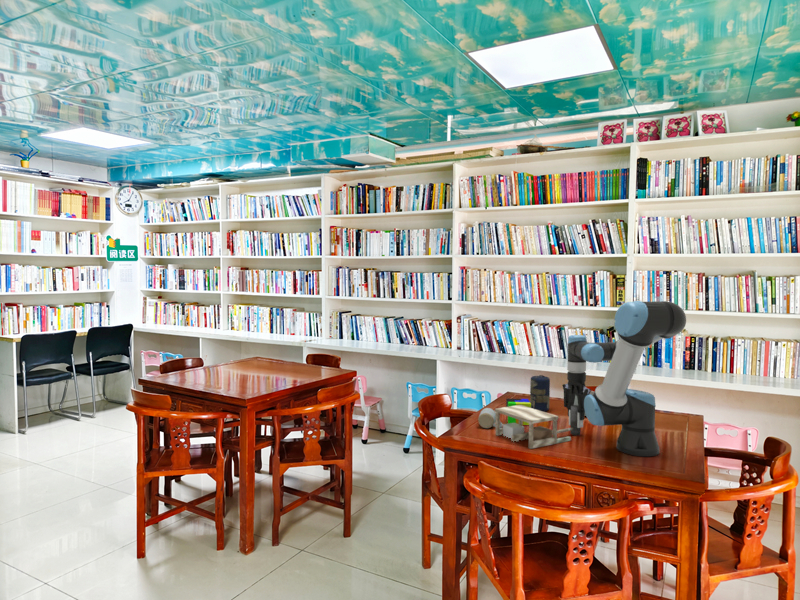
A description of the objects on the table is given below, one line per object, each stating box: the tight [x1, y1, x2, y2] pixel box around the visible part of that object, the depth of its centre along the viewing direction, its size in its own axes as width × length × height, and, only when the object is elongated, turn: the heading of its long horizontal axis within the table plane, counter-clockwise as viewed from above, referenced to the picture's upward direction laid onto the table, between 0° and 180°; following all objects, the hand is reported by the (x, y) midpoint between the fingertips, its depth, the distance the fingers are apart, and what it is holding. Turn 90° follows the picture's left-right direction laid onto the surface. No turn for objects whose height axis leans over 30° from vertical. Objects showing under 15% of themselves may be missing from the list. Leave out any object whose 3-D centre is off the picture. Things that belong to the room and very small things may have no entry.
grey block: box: [502, 423, 525, 440], centre depth 223 cm, size 6×6×5 cm
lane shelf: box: [494, 405, 572, 450], centre depth 221 cm, size 22×22×11 cm
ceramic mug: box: [477, 407, 504, 429], centre depth 238 cm, size 11×8×8 cm
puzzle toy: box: [505, 398, 531, 425], centre depth 245 cm, size 10×10×10 cm
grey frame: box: [533, 405, 581, 441], centre depth 221 cm, size 25×6×12 cm, turn 119°
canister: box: [529, 374, 551, 412], centre depth 268 cm, size 10×10×18 cm
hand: (575, 425), depth 227 cm, fingers closed on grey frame, 4 cm apart
